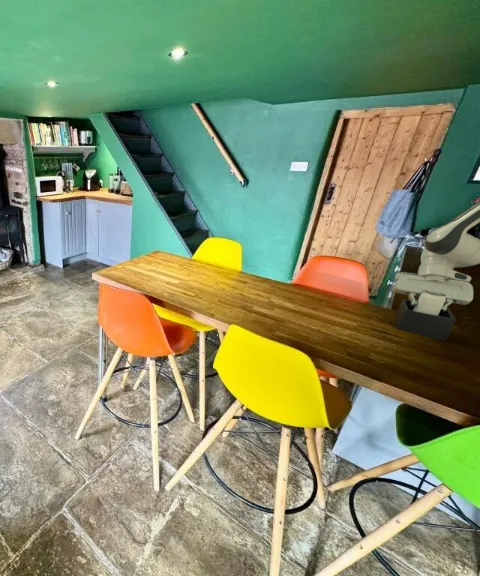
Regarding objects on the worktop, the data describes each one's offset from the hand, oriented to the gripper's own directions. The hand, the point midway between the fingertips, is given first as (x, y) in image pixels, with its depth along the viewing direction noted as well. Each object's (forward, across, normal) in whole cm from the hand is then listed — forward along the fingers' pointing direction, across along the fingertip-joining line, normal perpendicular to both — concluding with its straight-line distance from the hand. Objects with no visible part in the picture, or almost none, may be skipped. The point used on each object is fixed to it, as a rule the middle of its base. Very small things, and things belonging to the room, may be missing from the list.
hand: (428, 307), depth 112 cm
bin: (+6, 0, +7) cm, 9 cm away
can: (+4, 0, +5) cm, 6 cm away
